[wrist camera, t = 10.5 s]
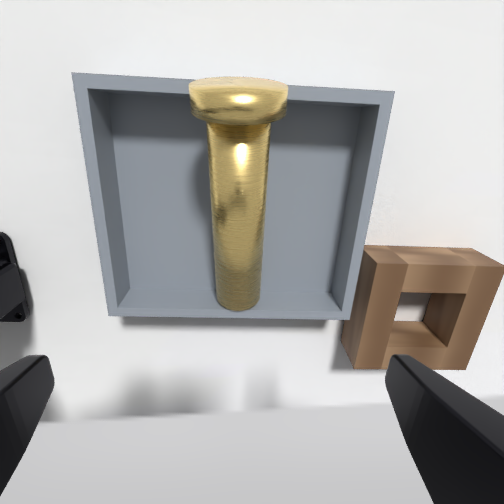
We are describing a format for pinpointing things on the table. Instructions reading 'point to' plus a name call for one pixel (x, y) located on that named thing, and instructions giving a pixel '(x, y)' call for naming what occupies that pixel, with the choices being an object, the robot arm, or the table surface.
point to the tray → (199, 198)
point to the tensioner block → (438, 311)
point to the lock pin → (238, 176)
